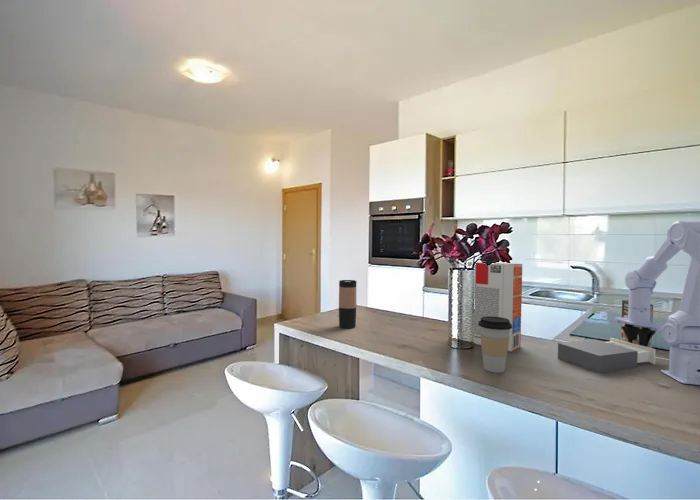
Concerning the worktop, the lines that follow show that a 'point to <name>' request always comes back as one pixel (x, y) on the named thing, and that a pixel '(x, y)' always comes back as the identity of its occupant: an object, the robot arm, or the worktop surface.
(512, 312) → the pasta box
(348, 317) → the travel mug
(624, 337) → the coffee box
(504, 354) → the coffee cup
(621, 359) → the sleeve
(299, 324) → the worktop surface
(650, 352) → the mailer tray
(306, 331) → the worktop surface
